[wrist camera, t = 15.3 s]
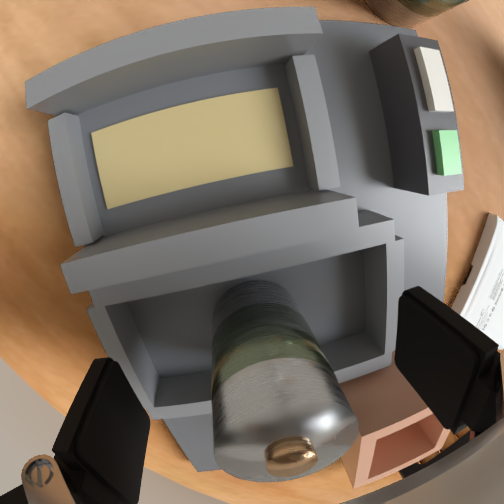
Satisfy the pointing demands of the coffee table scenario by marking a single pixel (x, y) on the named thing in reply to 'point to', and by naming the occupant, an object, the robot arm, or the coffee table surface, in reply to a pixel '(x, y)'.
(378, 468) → the pink hollow box
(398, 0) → the cell
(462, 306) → the external hard drive
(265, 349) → the cell
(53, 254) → the coffee table surface
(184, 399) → the board
